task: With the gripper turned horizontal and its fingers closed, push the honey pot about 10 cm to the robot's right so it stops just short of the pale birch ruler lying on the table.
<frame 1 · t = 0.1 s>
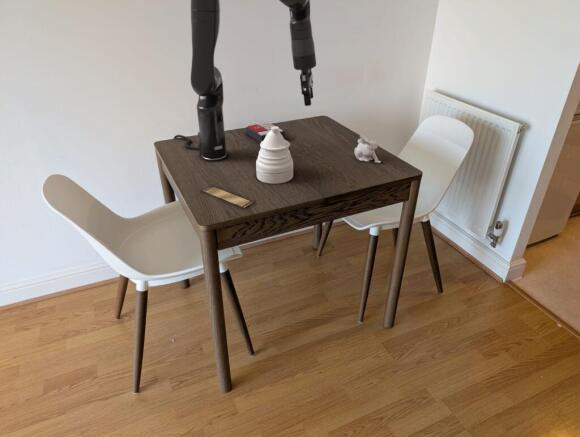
hand: (309, 101, 147), 22 cm above the table, tool pointing down, fingers open, 8 cm apart
white lumpy figure: (363, 160, 161), on the table
honey pot: (274, 175, 149), on the table
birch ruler: (227, 197, 135), on the table
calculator: (265, 137, 181), on the table
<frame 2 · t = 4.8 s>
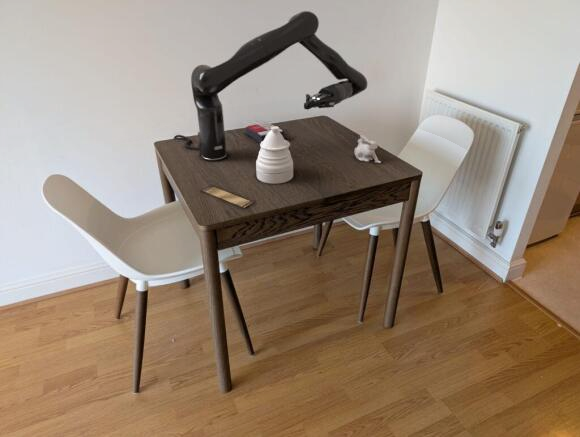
hand: (305, 106, 151), 20 cm above the table, tool horizontal, fingers closed
nothing on the table moved.
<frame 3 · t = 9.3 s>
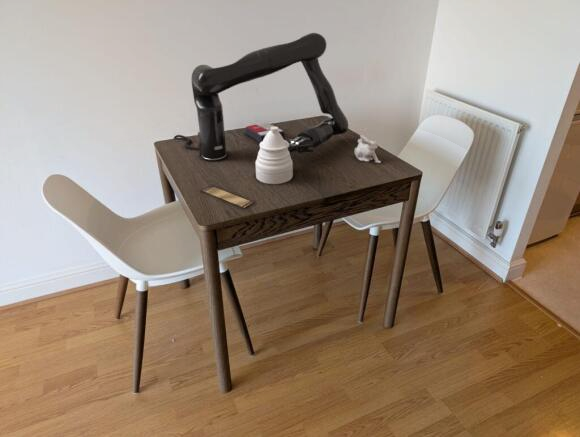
hand: (284, 151, 149), 7 cm above the table, tool horizontal, fingers closed
honey pot: (274, 176, 149), on the table, touching gripper
everything else where it was.
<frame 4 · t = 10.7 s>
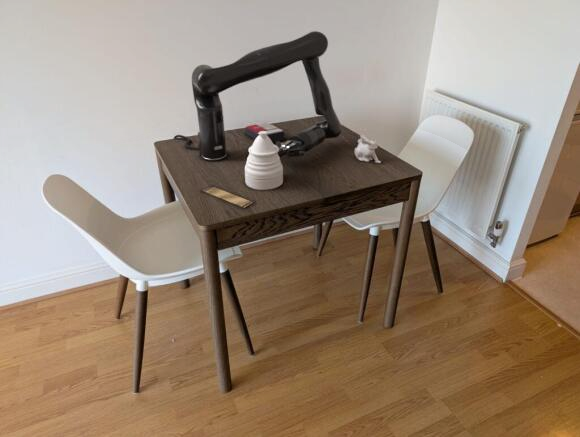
hand: (274, 155, 145), 7 cm above the table, tool horizontal, fingers closed
honey pot: (264, 181, 145), on the table, touching gripper
everything else where it was.
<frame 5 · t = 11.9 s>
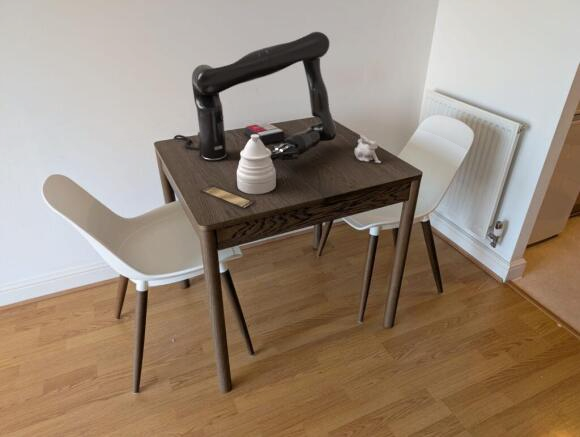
hand: (267, 159, 142), 7 cm above the table, tool horizontal, fingers closed
honey pot: (256, 185, 143), on the table, touching gripper
everything else where it was.
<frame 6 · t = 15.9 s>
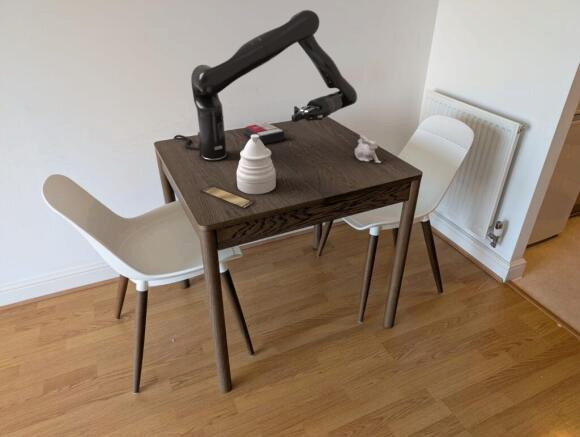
hand: (293, 119, 147), 17 cm above the table, tool horizontal, fingers closed
honey pot: (256, 185, 143), on the table
everything else where it was.
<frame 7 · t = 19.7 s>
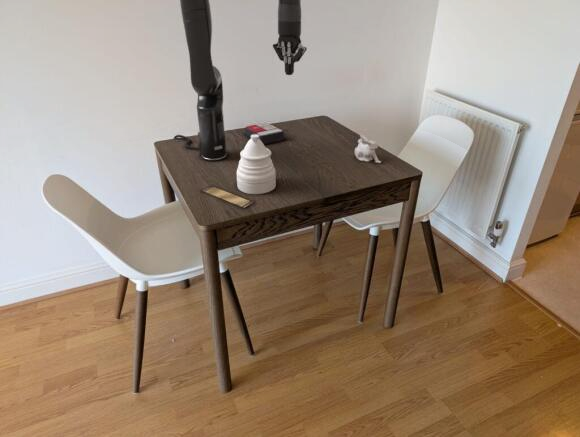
hand: (289, 74, 146), 31 cm above the table, tool pointing down, fingers closed
nothing on the table moved.
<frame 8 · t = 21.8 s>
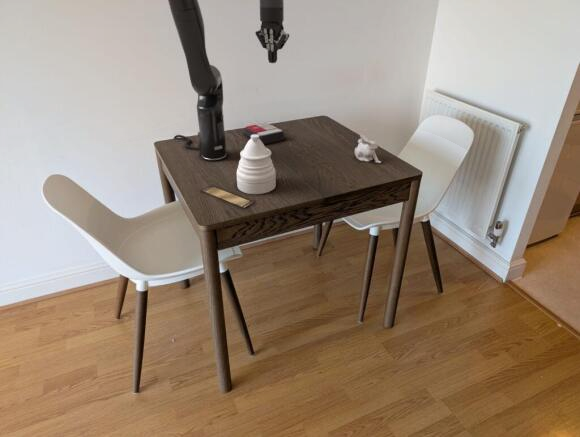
hand: (272, 62, 143), 35 cm above the table, tool pointing down, fingers closed
nothing on the table moved.
at the end: honey pot inside the target area (0.9 cm from its centre), on the table; honey pot moved 9.6 cm from its start; honey pot tilted 0° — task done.
